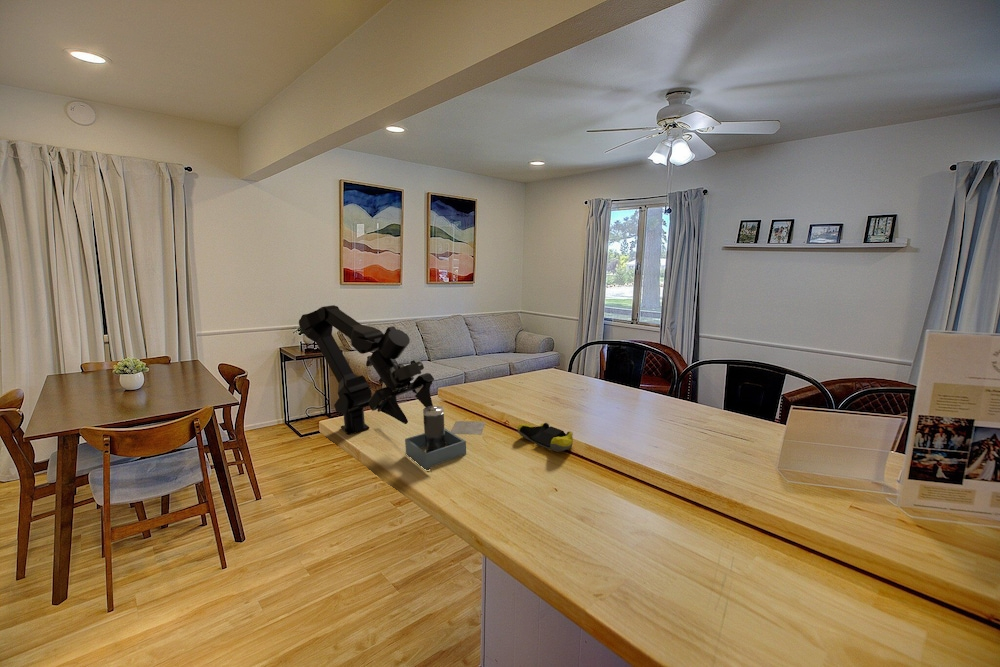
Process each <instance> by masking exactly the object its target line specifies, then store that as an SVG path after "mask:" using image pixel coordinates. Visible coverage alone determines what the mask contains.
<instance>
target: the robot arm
mask: <svg viewBox="0 0 1000 667" xmlns="http://www.w3.org/2000/svg"><path fill="white" fill-rule="evenodd" d="M298 327H299V329H300V330H301V331H302V333H303V334H304V335H305V337H306V338H308V339H309V340H311V341H312V342H314V343H316V345H317V346H318V349H319V350H320V352H321V354H322V356H323V358H324V359H325V362H326V364H328V367H329V369H330V370H331V372H332V373H333V375H334V377H335V379H336V381H337V383H338V386H337V395H338V398H337V400H336V401H335V403H334V408H335V409H334V410H335V412H336V413H339V414H342V415H343V423H344V424H343V425H341V426H340V429H341V428H342V429H343V430H344V431H345V432H346V433H345V432H344V433H345V434H347V435H351V434H350V433H352V434H354V433H353V432H356V433H358V432H357V431H359V432H362V430H363V431H366V429H367V430H369V429H370V426H369V425H368V424H366V423H365V421H366V420H365V412H364V411H365V410H364V409H365V408H367V407H369V408H370V410H371V411H377V412H382V413H384V414H386V415H388V416H390V417H392V418H393V419H396V420H397V421H399V422H401V423H402V424H404V425H407V424H408V423H409V420H408V418H407V417H406V415H405V413H404V412H403V410H402V408H401V406H400V405H399V403H398V400H397V397H398V396H401V395H404V394H406V393H409V392H412V393H414V394H415V395H414V396H415V398H416V399H417V400H418V401H419V402H420V403H421V404H422V405H423V406H424V408H426V407H429V406H434V404H433V400H432V397H431V391H430V390H431V386H432V385H433V383H434V381H435V378H434V376H433V375H432V374H431V373H429V372H425V373H423V374H422V371H423V370H424V368H425V367H424V366H425V365H424V364H423V362H422V360H420V359H419V358H416V359H413V360H411V361H410V364H406V365H404V364H402V363H400V364H399V363H398V362H397V359H398V358H399V357H400V356H401V355H402V354H403V353H404V351H405V349H406V348H407V346H408V345H409V344H410V343H411V342H410V341H411V340H410V337H409V335H408V334H407V333H406V332H404V331H403V330H401V329H398V328H396V327H395V325H393V326H389V327H387V328H386V330H385V332H384V333H383V332H382V331H381V330H380V329H379V328H376V327H373V326H370V325H369V326H368V325H363V324H361V323H360V322H359V321H357V320H355V319H354V318H352V317H351V316H350V315H348V314H347V313H346V312H344V311H342V310H340V308H339V307H338V305H335V304H333V305H327V306H321V307H319V308H318V309H317V310H314V311H312V312H309V313H305V314H302V315H301V316H300V318H299V319H298ZM333 328H335V329H336V330H338V331H339V332H340V333H342V334H343V335H345V336H346V337H347V338H348V339H349V340H350V344H351V346H352V347H353V348H354V349H355V350H356V351H357V352H358V354H362V355H363V354H367V353H371V355H368V356H367V357H366V358H367V360H366V362H365V364H366V365H365V367H372V366H373V368H374V370H375V371H376V373H377V374H378V376H379V377H380V378H379V379H378V382H379V384H380V385H381V384H384V385H385V386H384V387H383V388H382V387H381V388H379V389H376V390H375V391H374V393H373V394H372V389H371V388H370V387H371V385H370V384H369V383H368V381H367V380H366V377H365V376H364V375H362V374H361V375H359V376H358V375H356V374H355V373H354V372H353V369H352V368H351V366H350V364H349V361H347V359H346V357H345V355H344V354H343V351H342V350H341V347H340V346H339V345H338V343H337V341H336V340H335V337H334V336H333ZM414 376H417V377H416V378H415V377H414ZM412 381H413V382H412ZM343 430H342V431H343Z"/></svg>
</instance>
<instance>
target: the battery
mask: <svg viewBox="0 0 1000 667" xmlns="http://www.w3.org/2000/svg"><path fill="white" fill-rule="evenodd" d="M444 409H445V408H444V407H443V406H440V405H433V406H429V407H424V408H423V410H422V412H423V413H422V414H423V428H424V429H423V430H424V433H425V448H424V449H425V452H426V453H428V452H431V451H434V450H437V449H440V448H443V447H446V442H445V429H446V428H445V414H444V412H445V411H444ZM444 428H445V429H444Z"/></svg>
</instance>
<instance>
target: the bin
mask: <svg viewBox="0 0 1000 667" xmlns="http://www.w3.org/2000/svg"><path fill="white" fill-rule="evenodd" d="M444 429H445V444H448V445H447V446H446V445H445V447H443V448H440V449H437V450H434V451H431V452H428V453H426V450H423V449H422V448H424V447H425V433H421V434H416V435H413V436H410V437H407V438H405V440H404V445H405V455H406V454H407V455H408V456H409V457H411V458H412V459H413V460H414V461H416V462H417V463H418V464H419V465H420V466H422V467H423V468H424V469H426V470H429V469H431V468H430V467H434V466H436V465H439V464H442V463H445V462H448V461H450V460H453V459H456V458H459V457H462V456H464V455H467V441H466V440H465V439H464V438H462V437H460V436H458V434H453V433H452V432H451V430H449V429H446V428H445V427H444ZM407 455H406V456H407ZM408 456H407V457H408ZM409 457H408V458H409ZM412 459H411V460H412ZM413 460H412V461H413ZM414 461H413V462H414ZM417 463H416V464H417ZM418 464H417V465H418ZM419 465H418V466H419ZM420 466H419V467H420ZM423 468H422V469H423ZM424 469H423V470H424Z"/></svg>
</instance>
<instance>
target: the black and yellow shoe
mask: <svg viewBox="0 0 1000 667" xmlns="http://www.w3.org/2000/svg"><path fill="white" fill-rule="evenodd" d="M517 433H518V434H519V435H520V436H521V437H522V438H523V439H526V440H528V441H530V442H531V443H534V444H535V445H536V446H538V447H542V448H545V449H547V450H548V451H554V452H555V453H560V452H564V451H567V450H568V449H571V448H572V447H573V444H574V443H573V440H574V439H573V436H574V432H573V431H567V432H566V433H565V431H564V430H562V429H559V428H557V427H554V426H550V423H549V422H543V423H541V424H540V425H538V426H535V425H531V424H527V423H519V424H518V425H517Z"/></svg>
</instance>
